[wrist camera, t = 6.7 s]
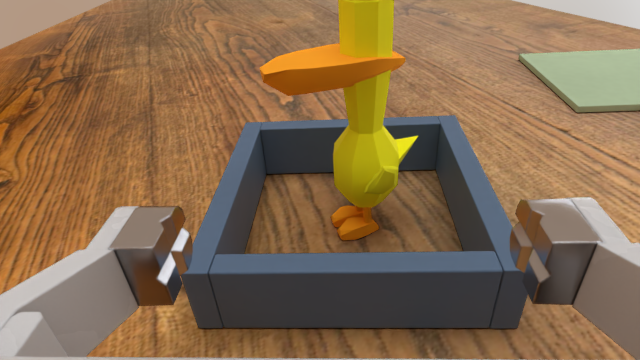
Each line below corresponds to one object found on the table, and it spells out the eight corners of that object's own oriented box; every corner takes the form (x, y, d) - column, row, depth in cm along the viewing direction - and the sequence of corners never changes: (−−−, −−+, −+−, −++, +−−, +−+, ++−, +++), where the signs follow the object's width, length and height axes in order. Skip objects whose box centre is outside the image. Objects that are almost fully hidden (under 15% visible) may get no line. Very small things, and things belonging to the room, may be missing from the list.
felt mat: (652, 53, 39) (654, 47, 39) (759, 106, 29) (763, 99, 29) (518, 59, 40) (519, 53, 39) (576, 112, 30) (578, 106, 30)
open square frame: (449, 160, 25) (455, 115, 24) (517, 329, 16) (535, 270, 14) (253, 166, 26) (245, 122, 25) (197, 328, 16) (179, 273, 15)
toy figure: (295, 268, 19) (257, -32, 12) (276, 221, 22) (237, -43, 15) (430, 231, 20) (462, -54, 14) (396, 191, 23) (408, -60, 17)
